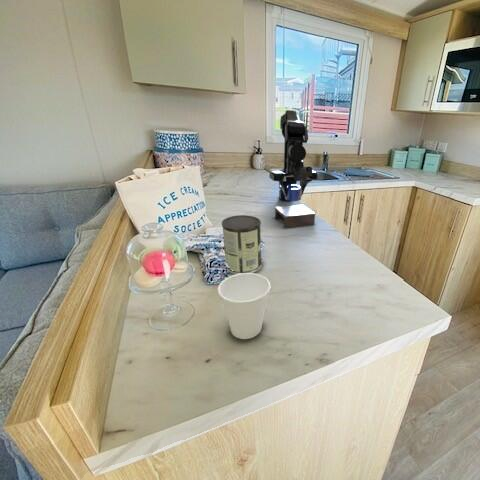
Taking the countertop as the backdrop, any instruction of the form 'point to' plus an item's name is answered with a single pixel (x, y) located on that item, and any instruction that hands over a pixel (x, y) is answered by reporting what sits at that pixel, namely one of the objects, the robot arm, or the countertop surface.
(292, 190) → the ramekin
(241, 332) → the cup
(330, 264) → the countertop surface
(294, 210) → the white-topped brown block
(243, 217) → the coffee can
